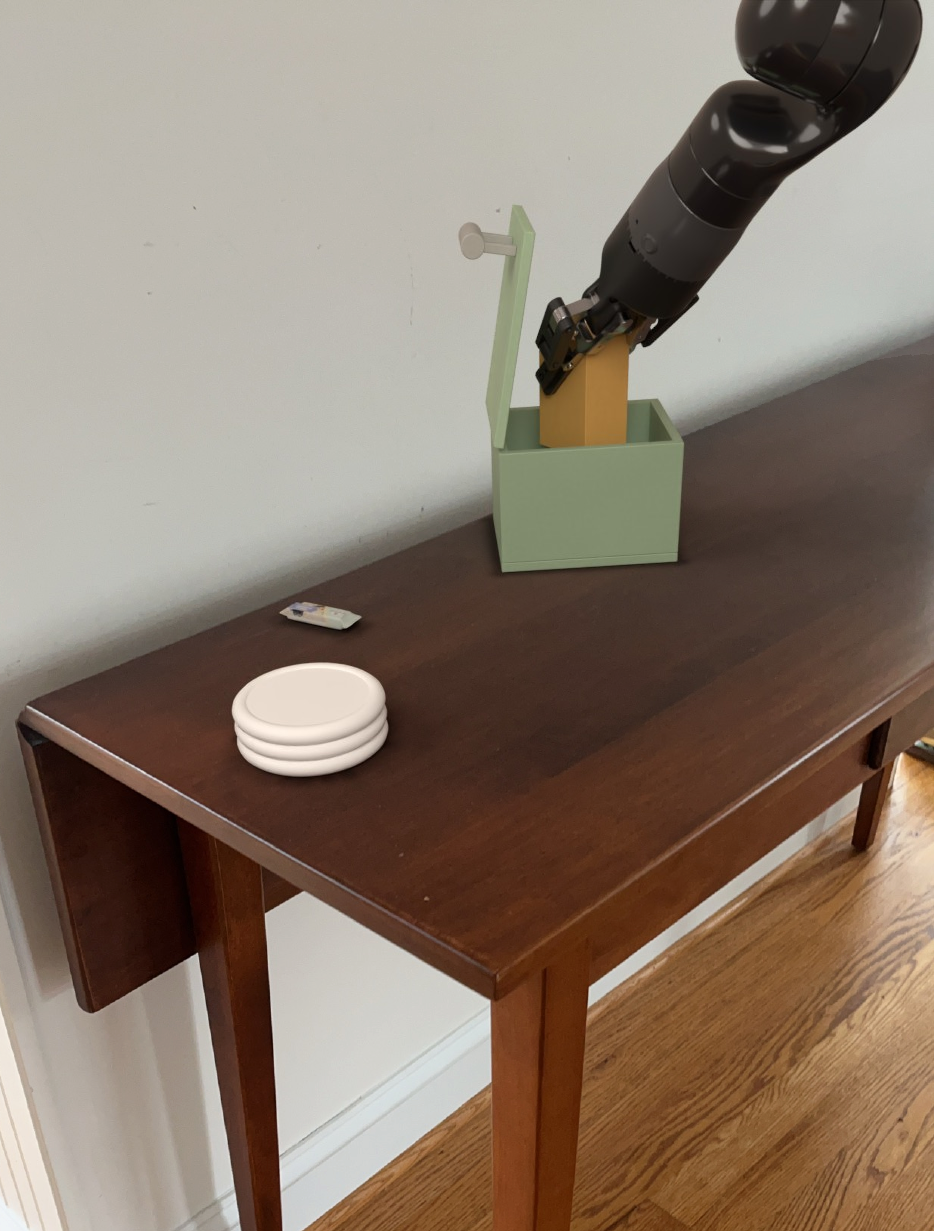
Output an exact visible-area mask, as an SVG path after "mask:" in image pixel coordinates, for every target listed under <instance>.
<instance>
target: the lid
mask: <svg viewBox="0 0 934 1231" xmlns="http://www.w3.org/2000/svg"><path fill="white" fill-rule="evenodd" d="M507 233H508V234H500V233H492V232H487V231H482V229H481V227H480V226H479V225H478V224H477V223H475V222H471V221H469V222H465V223H463V224H462V225H461V226H460V228H459V230H458V242H459V246H460V251H461V253H462V255H463V256H464V257H465V259H468V260H471V261H473V260H478V259H479V258H481V257H482V255H484V254H493V255H497V256H504V261H503V262H504V263H503V270H502V278H501V285H500V292H499V300H498V308H497V314H496V322H495V328H494V330H495V331H494V335H493V336H494V337H493V343H492V351H491V357H490V366H489V372H488V380H487V387H486V395H485V408H486V413H487V419H488V425H489V429H490V436H491V435H492V440H493V445H494V448H501V449H503V448H504V444H505V437H506V430H507V423H508V417H509V410H510V408H511V402H512V395H513V390H514V382H515V376H516V368H517V362H518V355H519V349H520V341H521V335H522V328H523V321H524V314H525V309H526V308H525V307H526V300H527V294H528V288H529V281H530V273H531V267H532V261H533V253H534V247H535V241H536V240H535V239H536V232H535V229H534V227H533V225H532V223H531V221H530V219H529V217H528V215H527V213H526V211H525V209H524V207H523V205H520V204H512V205H511V211H510V220H509V227H508V232H507Z"/></svg>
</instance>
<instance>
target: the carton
mask: <svg viewBox="0 0 934 1231" xmlns="http://www.w3.org/2000/svg"><path fill="white" fill-rule="evenodd" d="M585 323H586V322H585ZM586 325H587V323H586ZM587 327H588V325H587ZM588 329H589V327H588ZM589 331H590V329H589ZM590 333H591V335H592V337H593V339H594V338H595V337H596V336H595V335H594V334H592V332H591V331H590ZM569 346H570V348H571V350H572V352H573V351H574V350H575V349H576V348H577V342H576V340H575V338H574V336H573V337H572V340H571V343H570V345H569ZM538 350H539V349H538ZM543 361H544V358H543V356H542V354H541V352H540V350H539V351H538V365H539V366H538V368H539V367H540V366H541V364H542V363H543ZM629 365H630V355H629V345H628V344H627V342H626V335H625V334H617V335H616V336H615V337H613V338H612V339H611V340H610V341H609V342H608V343H607V344H606V345H605V346H604V347H603V348H602V349H601V350H600V351H599V352H598V353H597V354H594V355H592V354H586V355H585V356H584V357H583V359H582V360H581V361H580V362H579V363H578V364H577V365H576V366H575V367H573V370H572V371H571V373H570V374H569V375H568V377H567V378H566V380H565V381H564V382H563V384H562V385H561V386H560V388H559V389H558V390H557V392H556V393H555V394H552V395H548V396H547V395H545V394H544V392H543V390H542V388H541V386H540V384H539V383H538V386H539V387H538V388H539V391H538V392H539V394H538V396H539V399H538V400H539V403H538V404H539V406H540V444H541V445H544V446H547V447H549V448H562V447H578V446H594V445H610V444H626V431H627V401H628V400H629V399H628V398H629V397H628V396H629V368H630V366H629Z"/></svg>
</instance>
